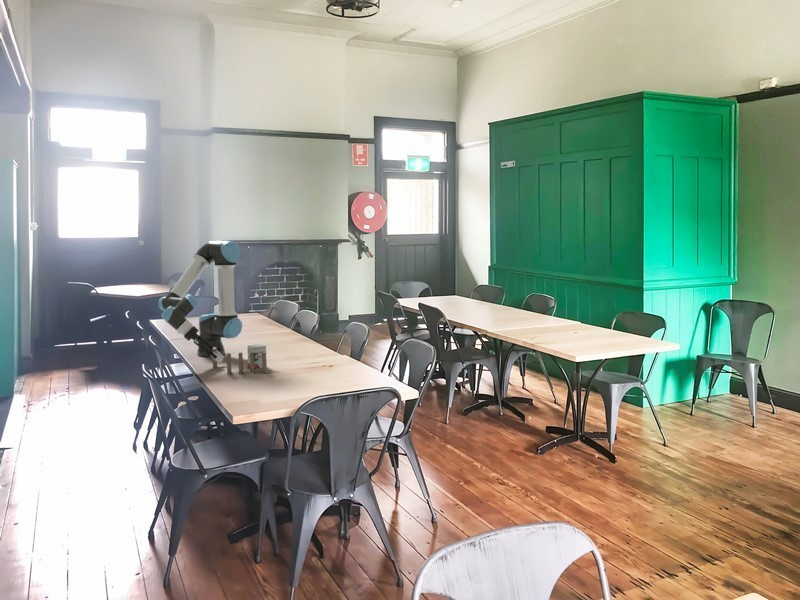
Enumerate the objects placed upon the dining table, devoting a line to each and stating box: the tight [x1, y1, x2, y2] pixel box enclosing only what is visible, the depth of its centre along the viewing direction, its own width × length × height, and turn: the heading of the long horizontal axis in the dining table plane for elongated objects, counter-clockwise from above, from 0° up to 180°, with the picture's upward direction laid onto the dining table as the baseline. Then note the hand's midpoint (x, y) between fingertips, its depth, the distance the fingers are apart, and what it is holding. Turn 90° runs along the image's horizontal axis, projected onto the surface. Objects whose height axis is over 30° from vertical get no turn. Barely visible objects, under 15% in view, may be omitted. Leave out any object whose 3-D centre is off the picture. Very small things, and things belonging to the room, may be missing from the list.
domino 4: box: [262, 351, 267, 374], centre depth 343 cm, size 5×2×10 cm, turn 9°
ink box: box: [247, 343, 268, 370], centre depth 353 cm, size 9×5×12 cm, turn 126°
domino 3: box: [250, 352, 256, 374], centre depth 342 cm, size 5×2×10 cm, turn 9°
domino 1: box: [226, 352, 232, 375], centre depth 341 cm, size 5×2×10 cm, turn 9°
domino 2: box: [238, 352, 244, 375], centre depth 341 cm, size 5×2×10 cm, turn 9°
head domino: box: [211, 347, 218, 369], centre depth 356 cm, size 5×2×10 cm, turn 9°
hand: (221, 360), depth 357 cm, fingers open, 6 cm apart
